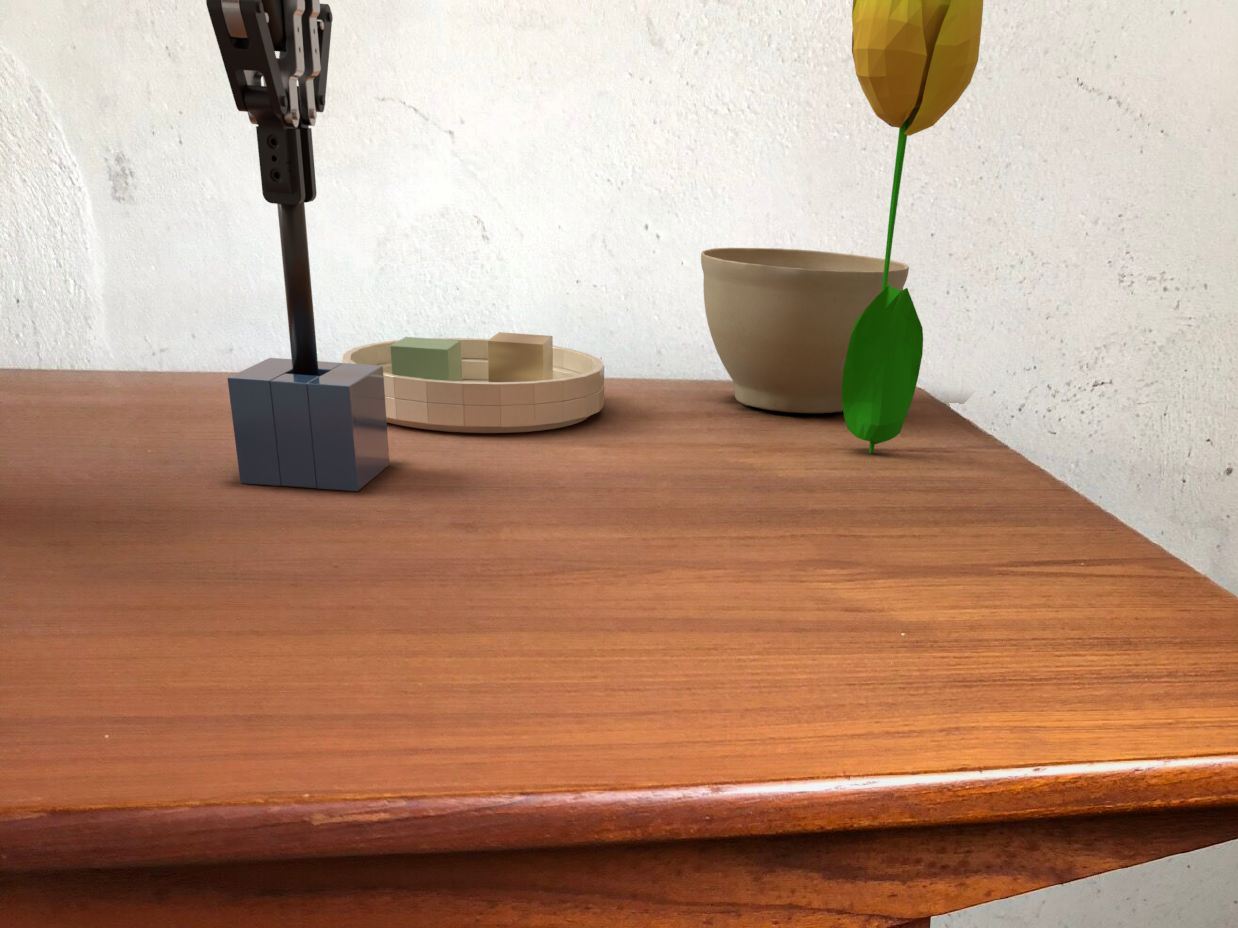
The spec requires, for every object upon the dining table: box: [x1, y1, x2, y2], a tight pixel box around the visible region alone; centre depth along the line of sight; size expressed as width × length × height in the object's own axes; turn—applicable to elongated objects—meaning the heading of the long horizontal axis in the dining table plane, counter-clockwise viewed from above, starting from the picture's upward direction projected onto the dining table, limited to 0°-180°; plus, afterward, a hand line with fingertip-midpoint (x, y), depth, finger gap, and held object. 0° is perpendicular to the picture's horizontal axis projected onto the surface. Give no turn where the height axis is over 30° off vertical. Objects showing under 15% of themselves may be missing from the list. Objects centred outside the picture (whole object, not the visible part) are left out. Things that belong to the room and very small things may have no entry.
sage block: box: [390, 336, 462, 382], centre depth 104 cm, size 4×4×4 cm
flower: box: [842, 0, 984, 454], centre depth 94 cm, size 9×8×30 cm
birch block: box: [487, 332, 554, 382], centre depth 108 cm, size 4×4×4 cm
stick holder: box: [227, 357, 391, 492], centre depth 87 cm, size 7×7×6 cm
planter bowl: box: [700, 247, 910, 414], centre depth 112 cm, size 16×16×11 cm
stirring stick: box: [276, 126, 319, 376], centre depth 82 cm, size 2×2×15 cm
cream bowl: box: [341, 337, 605, 434], centre depth 107 cm, size 19×19×4 cm
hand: (290, 201), depth 80 cm, fingers closed on stirring stick, 1 cm apart
